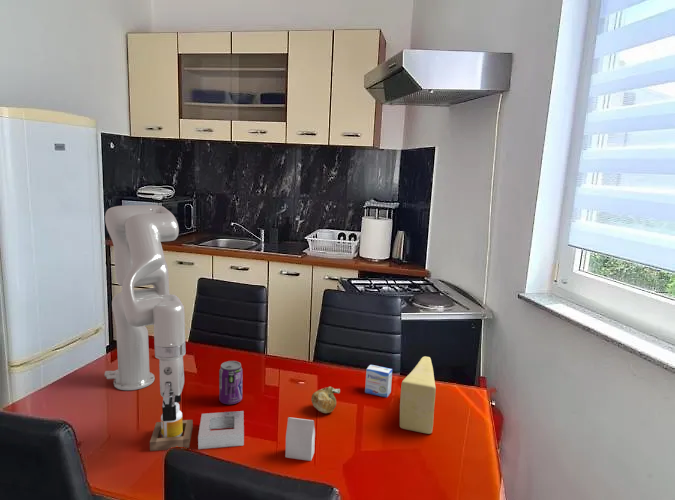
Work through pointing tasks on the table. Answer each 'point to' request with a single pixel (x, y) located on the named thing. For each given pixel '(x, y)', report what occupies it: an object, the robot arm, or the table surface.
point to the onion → (325, 399)
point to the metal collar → (221, 436)
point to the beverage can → (230, 382)
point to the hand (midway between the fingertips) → (172, 410)
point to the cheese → (418, 398)
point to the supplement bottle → (172, 425)
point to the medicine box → (378, 381)
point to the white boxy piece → (300, 439)
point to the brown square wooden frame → (169, 442)
